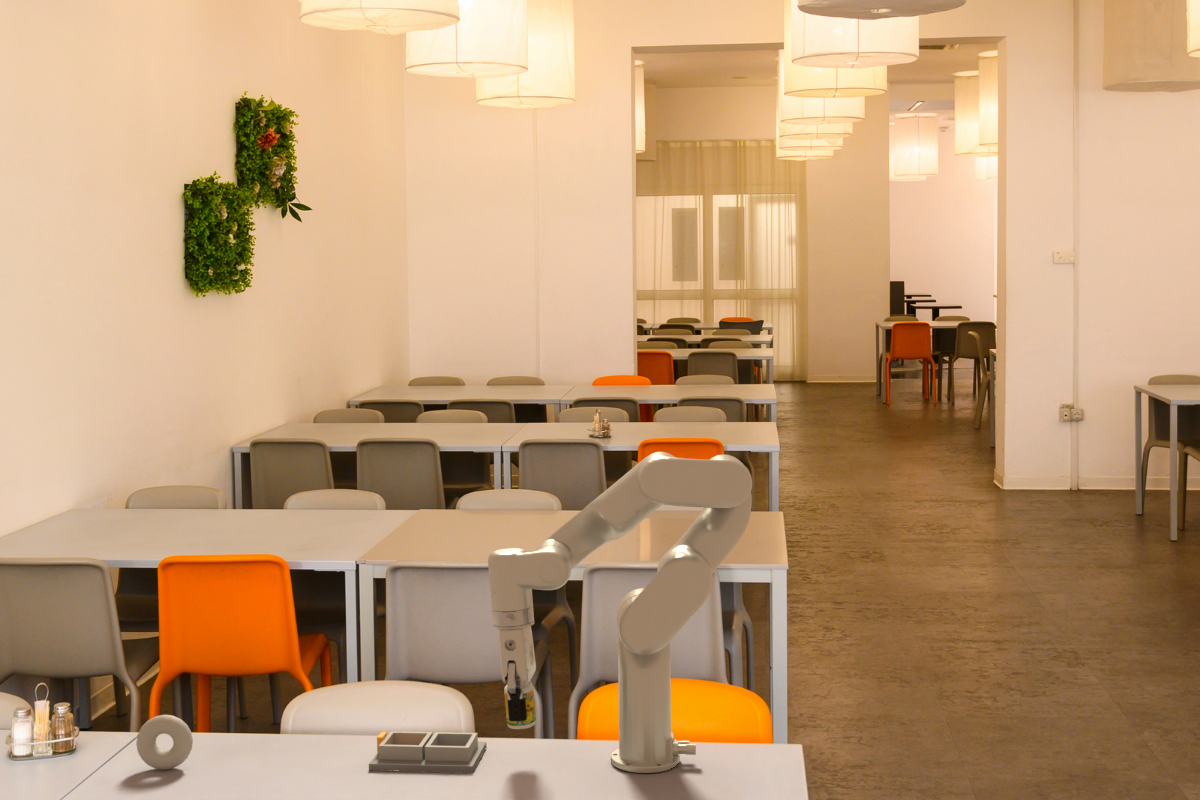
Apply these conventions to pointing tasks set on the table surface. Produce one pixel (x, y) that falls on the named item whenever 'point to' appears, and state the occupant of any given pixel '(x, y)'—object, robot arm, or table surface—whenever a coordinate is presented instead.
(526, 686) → the supplement bottle
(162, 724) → the donut
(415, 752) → the compartment tray
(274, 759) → the table surface
